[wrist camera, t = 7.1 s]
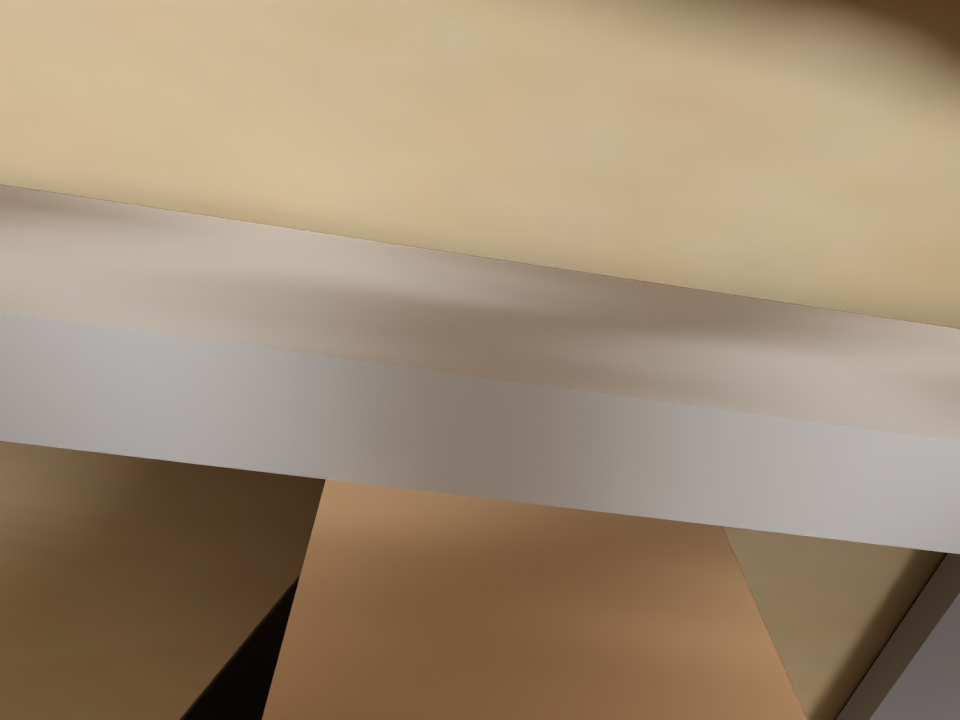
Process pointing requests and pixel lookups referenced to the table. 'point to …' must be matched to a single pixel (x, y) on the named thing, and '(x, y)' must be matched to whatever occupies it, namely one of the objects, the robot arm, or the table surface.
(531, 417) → the wood and metal bracket
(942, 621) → the rubber mat
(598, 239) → the table surface
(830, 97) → the table surface
